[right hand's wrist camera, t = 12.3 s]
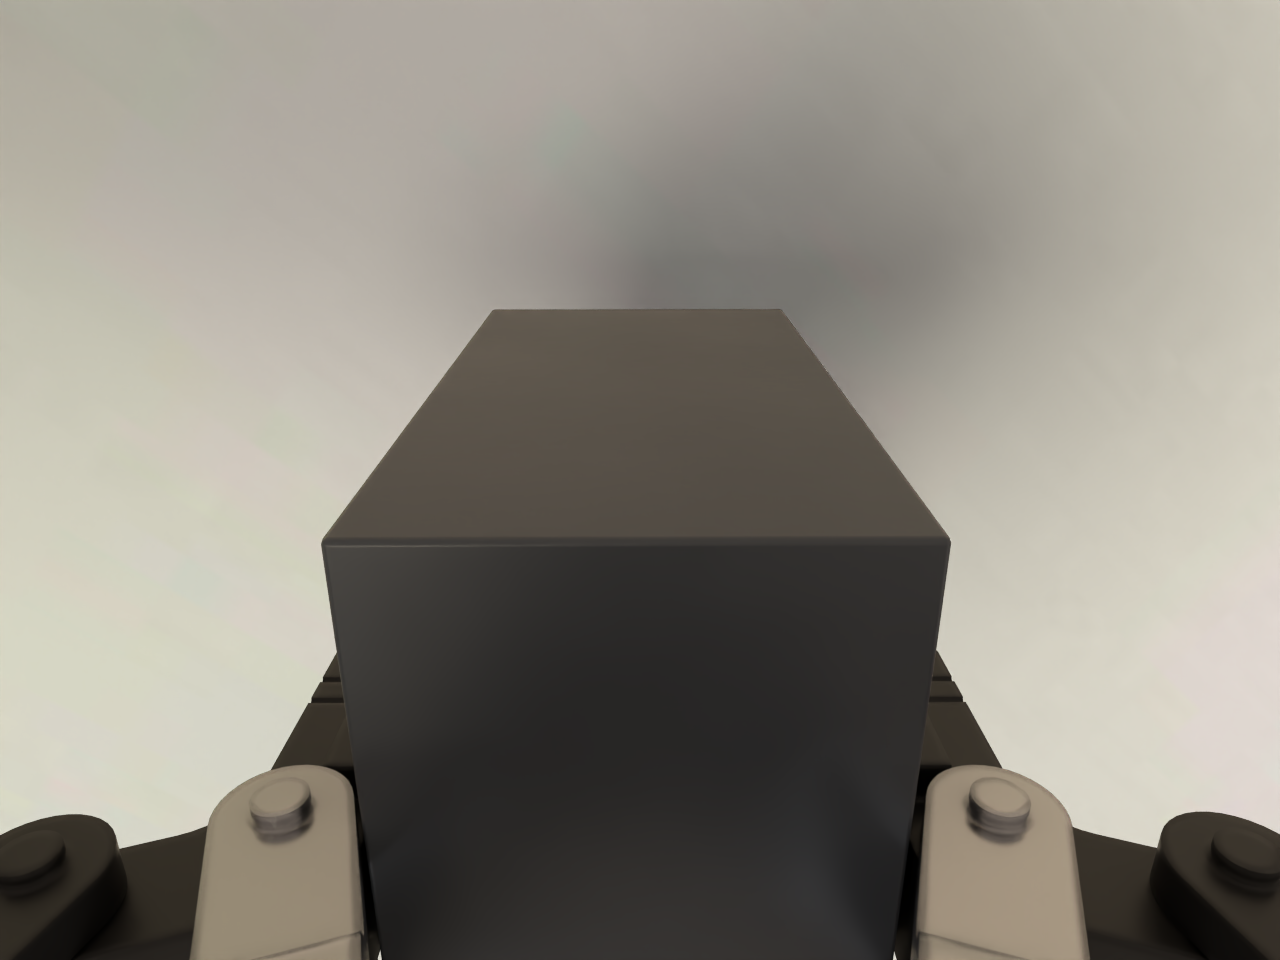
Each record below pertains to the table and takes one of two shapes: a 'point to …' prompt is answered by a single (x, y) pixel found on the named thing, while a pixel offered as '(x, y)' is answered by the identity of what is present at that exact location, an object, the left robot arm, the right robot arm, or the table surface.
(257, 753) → the table surface
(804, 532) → the bar
